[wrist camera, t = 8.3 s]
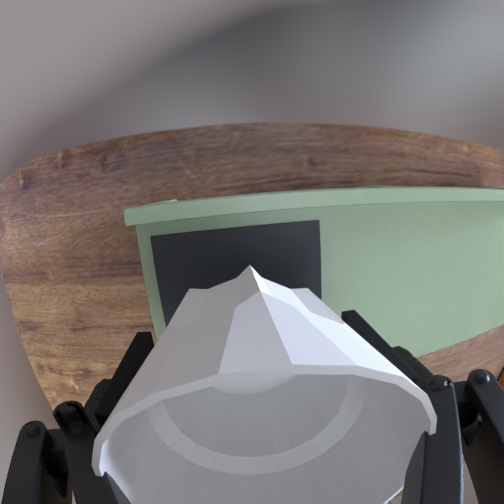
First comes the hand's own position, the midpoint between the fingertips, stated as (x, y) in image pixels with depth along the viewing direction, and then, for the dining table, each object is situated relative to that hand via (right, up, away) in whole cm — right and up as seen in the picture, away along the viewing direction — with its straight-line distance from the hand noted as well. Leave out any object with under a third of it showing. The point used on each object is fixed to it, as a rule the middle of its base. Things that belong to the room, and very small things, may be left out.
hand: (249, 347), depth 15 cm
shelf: (+12, +4, +15) cm, 19 cm away
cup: (0, 0, +1) cm, 1 cm away
